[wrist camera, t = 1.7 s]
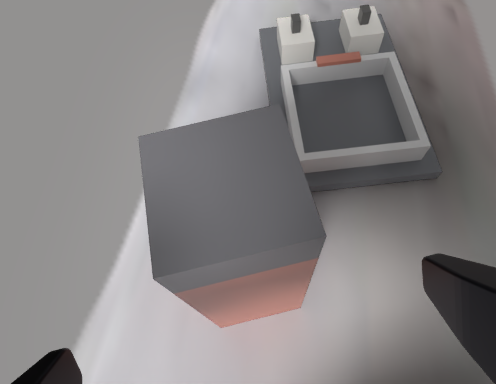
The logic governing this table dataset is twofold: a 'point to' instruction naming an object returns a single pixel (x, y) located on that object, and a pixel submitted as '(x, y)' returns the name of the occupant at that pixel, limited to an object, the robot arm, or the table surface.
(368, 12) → the panel
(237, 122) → the cap
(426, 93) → the table surface
